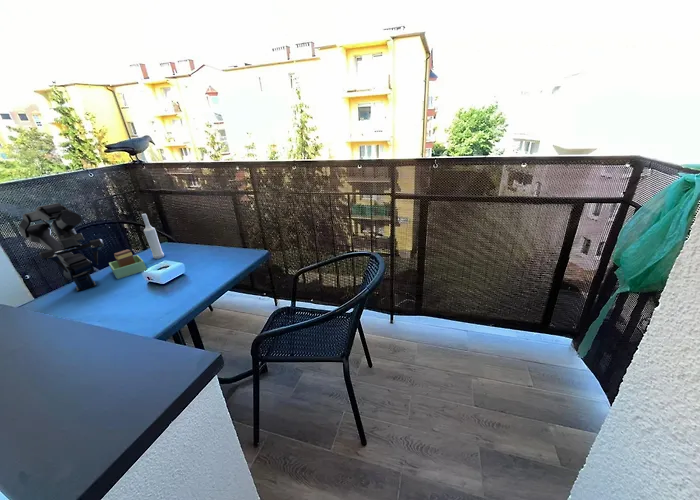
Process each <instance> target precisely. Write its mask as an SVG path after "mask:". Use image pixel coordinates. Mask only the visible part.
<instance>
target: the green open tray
mask: <svg viewBox="0 0 700 500" xmlns="http://www.w3.org/2000/svg"><path fill="white" fill-rule="evenodd" d="M133 258H134V260H135V263H134V264H131V265H128V266H124V267H121V268H120V267H119V265H118V262H117V260H114V261H110V262H108V265H109V267H110V268H109V269H110V270H111V272H112V274H113V275H114V277H115V278H116V280H119V279H123V278H126V277H130V276H133V275H135V274H138V273H141V272H145V271H147V270H146V269H147V266H146V263H145V261H144V260H143V259H142V257H140V256H139V254H136V255H135V254H134V255H133ZM144 270H145V271H144Z"/></svg>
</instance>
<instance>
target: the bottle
mask: <svg viewBox="0 0 700 500" xmlns="http://www.w3.org/2000/svg"><path fill="white" fill-rule="evenodd" d="M141 217H142V220H143V223H144V225H145V227H144V229H143V233H144V236H145V238H146V241H147V244H148V246H149V248H150V251H151V254H152V257H153V259H155V260H159V259H162V258H164V257H165V253H164V252H163V249H162V247H161V243H160V240H159V237H158V233H157V231H156V227H153V226H152V225H151V224H150V221H149V218H148V215H147V213H142V214H141Z"/></svg>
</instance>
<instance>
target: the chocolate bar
mask: <svg viewBox="0 0 700 500" xmlns="http://www.w3.org/2000/svg"><path fill="white" fill-rule="evenodd" d="M113 255H114V258H115V261H117V262H118V265H119V267H120V268H121V267H124V266H128V265H131V264H134V263H135V260H134V258H133V256H134V254H133V253H132V251H131V249H128V248H127V249H123V250H120V251H117V252H115V253H113Z"/></svg>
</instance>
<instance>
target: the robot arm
mask: <svg viewBox="0 0 700 500" xmlns="http://www.w3.org/2000/svg"><path fill="white" fill-rule="evenodd" d="M39 221H42V222H40V223H36V224H31V223H35V222H39ZM49 221H52V222H51V223H49ZM81 222H82V217H81V215H79V214H78V213H77V212H74V211H73V210H71V209H70V208H67V207H66V206H65V205H63V204H61V203H60V202H56V203H55V202H54V203H50V204H44V205H39V206H37V207H36V208H35V210H34V211H31V212H26V213H24V214H22V220H21V221H20V223H19V224H18V229H19V232H20V234H21V237H23V238H24V239H26V240H28V241H30V242H31V243H36V244H41V245H42V246H43V247H44V248H45V249H46V250H43V251H40V252H39V254H38V255H39V257H40V259H41V260H43V261H44V262H46V261H48V262H54V263H56V264H57V265H58V266H59V267H60V268H61V269H63V277H64V278H65V279H67V280H72V281H73V282H74V284H75V288H76V291H77V292H81V291H84V290H88V289H90V288H93V287H96V286H97V283H96V280H93V278H92V276H91V274H90V273H93V272H95V269H94V268H95V267H94V264H93V261H91V260H90V259H88V258H87V257H86V256H84V255H83V254H82V253H75V254H74V253H73V252H77V251H81V250H86V249H90V248H91V252H92V256H93V259H94V262H95V263H96V264H95V265H97V266H98V265H99V251H100V250H102V248H104V247H105V243H104V241H103V239H101V238H96V239H92V240H89V242H88V243H84V244H82V242H85V238H84V236H83V234H82V232H79V233H78V232H77V231H76V229H75V228H76V227H78V226H79V225H80V224H81ZM51 227H52V228H53V231H54V232H55V234H56V237H57V239H58V240H57V239H56V238H55V237H54V236H53V235H52V230H51Z"/></svg>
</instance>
